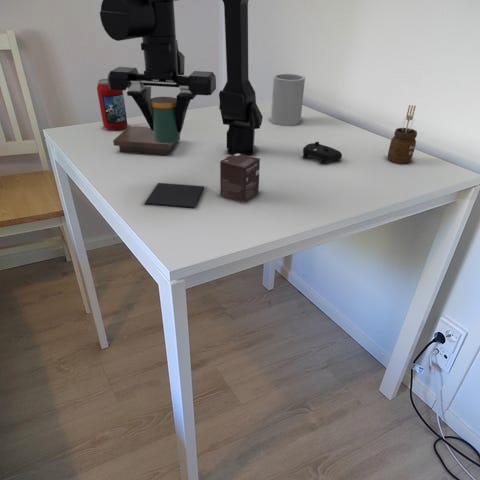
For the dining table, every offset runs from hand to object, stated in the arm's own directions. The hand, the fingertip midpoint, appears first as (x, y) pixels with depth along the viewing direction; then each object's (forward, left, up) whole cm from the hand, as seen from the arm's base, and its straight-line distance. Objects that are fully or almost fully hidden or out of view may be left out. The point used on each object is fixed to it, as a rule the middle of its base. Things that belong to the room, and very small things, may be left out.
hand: (166, 130), depth 82 cm
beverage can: (+27, -39, -12) cm, 49 cm away
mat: (-1, +3, -12) cm, 12 cm away
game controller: (-31, -25, -12) cm, 42 cm away
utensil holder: (-51, -28, -12) cm, 60 cm away
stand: (+13, -25, -12) cm, 31 cm away
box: (-14, 0, -12) cm, 19 cm away
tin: (0, 0, -2) cm, 2 cm away
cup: (-21, -56, -12) cm, 62 cm away
